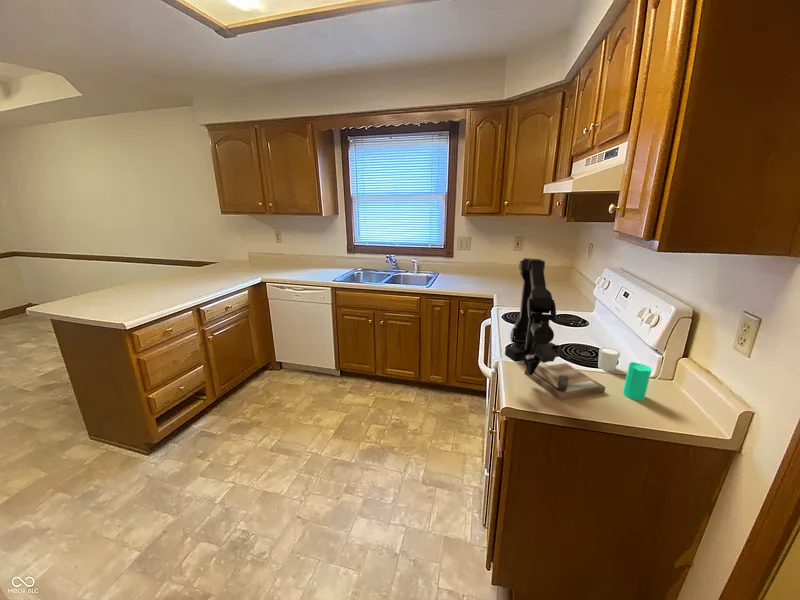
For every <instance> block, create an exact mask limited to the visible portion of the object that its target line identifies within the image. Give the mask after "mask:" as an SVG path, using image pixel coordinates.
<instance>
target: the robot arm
mask: <svg viewBox="0 0 800 600" xmlns="http://www.w3.org/2000/svg"><path fill="white" fill-rule="evenodd" d="M545 267H546V261H545V260H542V259H540V258H527V257H525V258H523V259H522V260H520V261H519V263H518V269H519V275H520V277H521V279H522V281H523V282H522V291H521V300H520V301H521V302H520V309H519V316H518V318H517V319H516V321H514V326H513V327H512V329H511V331H510V338H509V339H510V342H511V343H512V346H510V347H509V346H508V347H506V348H505V349H504V351H505V352H504V356H506V357H507V358H508V359H510V360H512V362H515V363H517V362H523V363H524V365H525V369H527V371H528V374H529V375H532V374H533V373H534V371H535V369H536V368H537V366H538V364H539V363H540V362H541V361H542V362H544V363H545V364H546V363H548V362H552V363H553V362H554V361H555V359H556V358H559V357H561V356H562V353H563V350H562V346H561V345H560V344H555V343H553V342H552V341H553V340H554V338H555V334H554V330H553V329H552V327H551V326H550V321H555V320H556V319H555V318H556V316H557V310H556V309H557V308H556V303H555V299H553V295H552V293H551V291H550V290H548V289H547V285H546V277H545Z"/></svg>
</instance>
